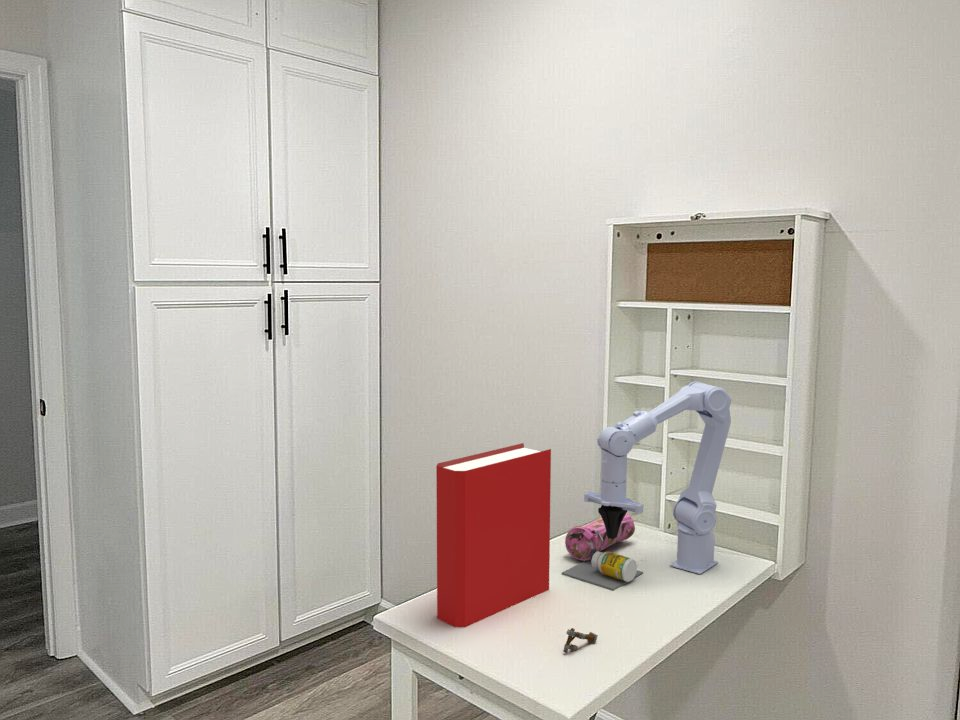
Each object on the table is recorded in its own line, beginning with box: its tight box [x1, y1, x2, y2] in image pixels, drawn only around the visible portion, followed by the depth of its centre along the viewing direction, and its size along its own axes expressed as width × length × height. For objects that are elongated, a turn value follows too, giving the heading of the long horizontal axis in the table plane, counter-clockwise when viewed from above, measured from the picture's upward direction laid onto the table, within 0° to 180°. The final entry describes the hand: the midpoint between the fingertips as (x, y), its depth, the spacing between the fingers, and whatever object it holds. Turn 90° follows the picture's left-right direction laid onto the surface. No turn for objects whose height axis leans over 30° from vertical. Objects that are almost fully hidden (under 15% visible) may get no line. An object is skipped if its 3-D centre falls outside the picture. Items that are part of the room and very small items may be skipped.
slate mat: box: [561, 558, 644, 591], centre depth 186 cm, size 13×14×1 cm
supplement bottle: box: [591, 551, 638, 583], centre depth 183 cm, size 5×5×10 cm
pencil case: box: [564, 512, 636, 562], centre depth 200 cm, size 21×9×9 cm, turn 142°
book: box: [435, 442, 552, 628], centre depth 168 cm, size 27×8×32 cm, turn 135°
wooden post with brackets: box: [562, 628, 599, 654], centre depth 150 cm, size 2×8×4 cm, turn 130°
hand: (612, 537), depth 183 cm, fingers closed
